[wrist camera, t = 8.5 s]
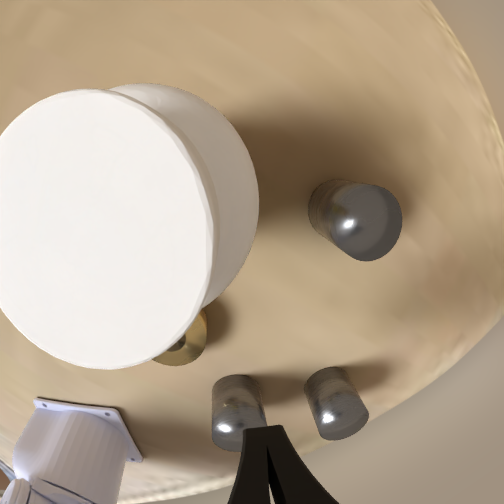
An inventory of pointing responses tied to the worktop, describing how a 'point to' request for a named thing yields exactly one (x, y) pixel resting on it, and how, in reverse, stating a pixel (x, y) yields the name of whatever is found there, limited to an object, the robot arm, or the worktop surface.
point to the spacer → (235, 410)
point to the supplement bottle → (120, 220)
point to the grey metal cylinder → (356, 218)
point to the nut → (187, 344)
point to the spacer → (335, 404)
